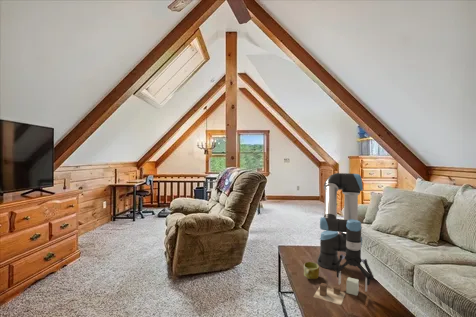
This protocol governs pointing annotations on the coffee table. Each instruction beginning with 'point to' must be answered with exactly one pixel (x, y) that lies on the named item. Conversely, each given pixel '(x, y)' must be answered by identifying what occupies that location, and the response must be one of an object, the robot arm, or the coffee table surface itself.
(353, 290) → the pale green block
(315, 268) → the mug
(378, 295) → the coffee table surface
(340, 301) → the board
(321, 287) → the tall post
